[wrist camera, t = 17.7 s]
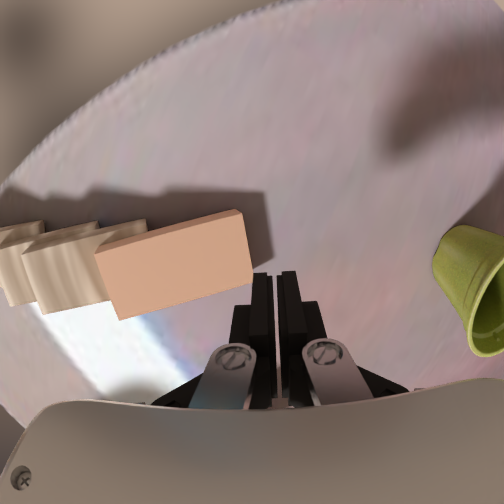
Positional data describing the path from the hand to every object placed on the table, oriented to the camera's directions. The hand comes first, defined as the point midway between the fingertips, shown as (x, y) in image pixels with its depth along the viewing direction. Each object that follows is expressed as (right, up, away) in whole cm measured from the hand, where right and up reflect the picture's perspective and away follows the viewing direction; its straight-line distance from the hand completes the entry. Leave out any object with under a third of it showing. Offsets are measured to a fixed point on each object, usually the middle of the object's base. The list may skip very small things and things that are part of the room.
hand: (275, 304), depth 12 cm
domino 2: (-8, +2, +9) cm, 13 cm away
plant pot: (+17, +2, +10) cm, 20 cm away
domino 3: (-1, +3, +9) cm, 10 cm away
